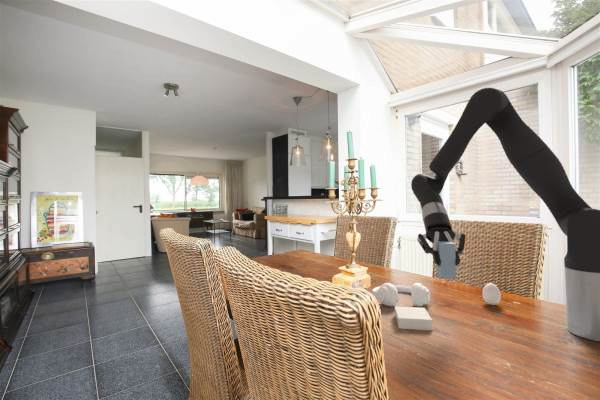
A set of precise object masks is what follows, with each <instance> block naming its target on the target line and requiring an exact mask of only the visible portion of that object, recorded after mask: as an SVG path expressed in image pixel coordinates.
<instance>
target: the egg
mask: <svg viewBox="0 0 600 400" xmlns="http://www.w3.org/2000/svg"><path fill="white" fill-rule="evenodd" d="M481 292H482V298H483V301H485V303H487V304H489V305H490V306H496V305H499V303H500V302H501V298H502V294H501V291H500V289H499V288H498V286H497V285H496V284H495V283H492V282H490V283H489V282H488V283H486V284H485V285H484V287H483V288H482V291H481Z"/></svg>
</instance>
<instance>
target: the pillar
mask: <svg viewBox="0 0 600 400" xmlns="http://www.w3.org/2000/svg"><path fill="white" fill-rule="evenodd" d="M455 246H456V243H455V242H454V243H453V242H437V247H438V249H437V251H438V252H439V256H440V259H441V265H440V266H437V265H436V275H437V277H439V278H440V279H445V280H446V279H448V280H449V279H450V280H451V279H453V280H457V266H456V265H455V259H456V254H455Z"/></svg>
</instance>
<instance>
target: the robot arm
mask: <svg viewBox="0 0 600 400" xmlns="http://www.w3.org/2000/svg"><path fill="white" fill-rule="evenodd" d="M484 124H486V125H487V126H488V127H489V128H490V129H491V131H493V132H494V134H495V135H496V136H497V138H498V140H499V142H500V145H501V147H502V149H503V151H504V154H505V156H506V158H507V159H508V161H509V163H510V164H511V165H512V166H513V169H515V171H516V172H517V174H518V175H519V176H520V177H521V178H522V179H523V180H524V182H525V183H526V185H528V186H529V188H530V189H531V190H532V191H534V193H535V194H536V195H537V196H538V197H539V198H540V200H542V202H543V203H544V204H545V206H546V207H547V208H548V211H549V212H550V213H551V216H552V217H553V218H554V219H555V221H556V223H557V225H558V227H559V228H560V230H561V232H562V233H563V234H564V235H565V236H566V242H567V243H566V244H567V246H566V248H567V249H566V250H567V251H566V254H565V256H564V259H563V261H564V265H563V266H564V280H565V283H564V284H565V286H564V287H565V301H566V302H565V304H566V305H565V308H566V329H567V331H568V332H570V333H571V334H573V335H576V336H578V337H580V338H584V339H587V340H589V341H590V340H591V341H596V342H600V209H596V208H593V207H591V206H590V205H589V204H588V203H587V202H586V201H585V200H584V199H583V198H582V196H580V195H579V193H577V191H576V190H575V188H574V187H573V186H572V183H571V182H570V180H569V177H568V174H567V173H566V170H565V167H564V166H563V164H562V163H561V160H560V159H559V157H557V155H556V154H555V152H553V151H552V149H551V148H550V147H549V146H548V144H546V142H544V140H543V139H542V138H541V137H540V136H539V135H538V133H536V132H535V131H534V130H533V129H532V128H531V127H530V126H528V125H527V124H526V122H525V121H523V119H522V118H521V117H520V115H519V113H518V112H517V111H516V109H515V107H514V106H513V104H512V103H511V101H510V99H509V97H508V96H507V94H506V93H505V91H502V90H500V89H498V88H494V87H484V88H480V89H478V90H477V91H475V92H474V93H473V94H472V95H471V96H470V97H469V100H468V102H467V103H466V106H465V108H464V109H463V111H462V113H461V115H460V117H459V118H458V121H457V123H456V125H455V126H454V129H453V130H452V132H451V133H450V135H449V136H448V138H447V139H446V141H445V142H444V143H443V145H442V147H441V148H440V150H438V151H437V153H436V155H434V157H433V159H432V160H431V162H429V163H430V164H429V165H428V167H429V170H430V171H431V172H432V173H433V174H435V175H434V176H430V175H427V174H424V173H417V174H416V175H414V176H413V177H412V179H411V185H410V186H411V190H412V193H413V194H414V197H416V199H417V201H418V202H419V204H420V209H421V216H422V221H423V224H424V229H425V233H424V234H422V233H418V235H417V238H416V239H417V242H418V243H419V245H420V247H421V248H422V250H423V251H424V253H425V254H431V255H432V258H433V262H434V264H435V265H436V267H437V266H440V265H441V259H440V256H439V252H438V251H437V249H438V247H437V242H453V243H455V241H454V240H455V239H456V242H457V243H458V244H457V245H458V247H457V246H456V245H455V254H456V259H455V265H456V267H458V266H459V265H460V263H461V259H460V255H462V254H463V251H464V249H465V244H466V243H465V242H466V234H465V233H461V234H457V233H456V232H455V231H454V230H453V227H452V224H451V220H450V218H449V215H448V212H447V209H446V207H445V205H444V201H443V199H442V197H441V195H440V194H441V193H442V191H443V189H444V187H445V183H446V181H447V178H448V177H449V174H450V172H452V170H453V169H454V167H455V166H456V165H457V164H458V162H459V161H460V159H461V158H462V157H463V155H464V153H465V151H466V149H467V148H468V146H469V144H470V142H471V140H472V139H473V137H474V136H475V134H476V133H477V132H478V131H479V130H480V129H481V128H482V127H483V126H484ZM427 240H428V241H429V242H430V243H432V245H431V246H432V247H431V246H430V245H429V243H428V241H427Z"/></svg>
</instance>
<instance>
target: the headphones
mask: <svg viewBox="0 0 600 400" xmlns="http://www.w3.org/2000/svg"><path fill="white" fill-rule="evenodd" d="M399 292H400V293H408V294H410V295H411V301H412V304H413V305H414V306H415V307H418V308H422V307H423V306H424V305H427V304H428V303H429V302H430V301H431V291H430V289H428V287H427V286H424V285H423V283H420V282H414V283H413V284H412V286H410V285H396V284H395V285H394V284H392V283H390V282H385V283H383V284H381V285H380V286H376V287H374V288H373V289H372V290H371V293H372V294H373V295H375V296H376V298H375V299H377V300H378V301H379V302H380V303H381V304H383V305H384V306H386V307H395V306H396V305H397V304H398V302H399V299H400V296H399ZM373 295H372V296H373Z"/></svg>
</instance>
